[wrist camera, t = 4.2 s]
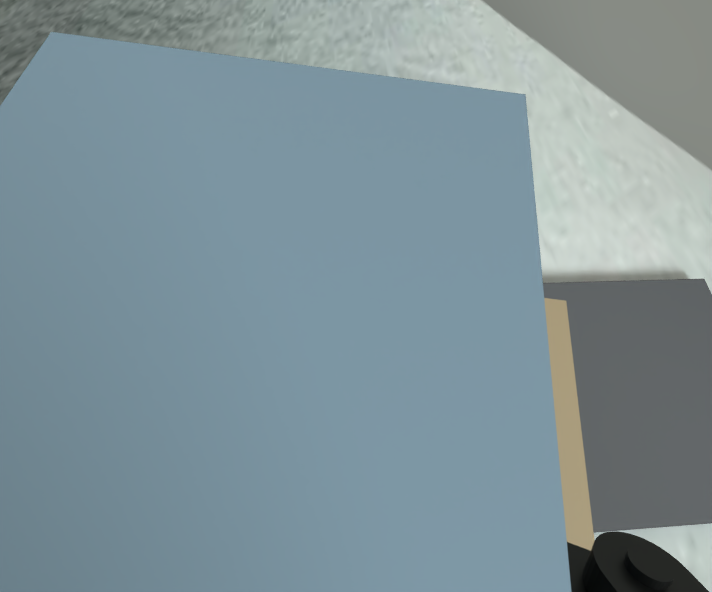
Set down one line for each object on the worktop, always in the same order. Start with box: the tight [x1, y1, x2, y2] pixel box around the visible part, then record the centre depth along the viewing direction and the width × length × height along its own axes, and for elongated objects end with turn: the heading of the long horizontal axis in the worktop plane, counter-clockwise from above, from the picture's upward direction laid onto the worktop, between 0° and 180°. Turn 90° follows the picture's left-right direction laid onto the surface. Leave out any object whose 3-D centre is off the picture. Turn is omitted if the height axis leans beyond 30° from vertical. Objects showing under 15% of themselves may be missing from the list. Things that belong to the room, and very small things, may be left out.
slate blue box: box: [0, 32, 571, 592], centre depth 9 cm, size 5×7×14 cm
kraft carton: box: [544, 298, 594, 551], centre depth 14 cm, size 16×13×5 cm
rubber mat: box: [543, 279, 712, 532], centre depth 18 cm, size 10×10×1 cm
